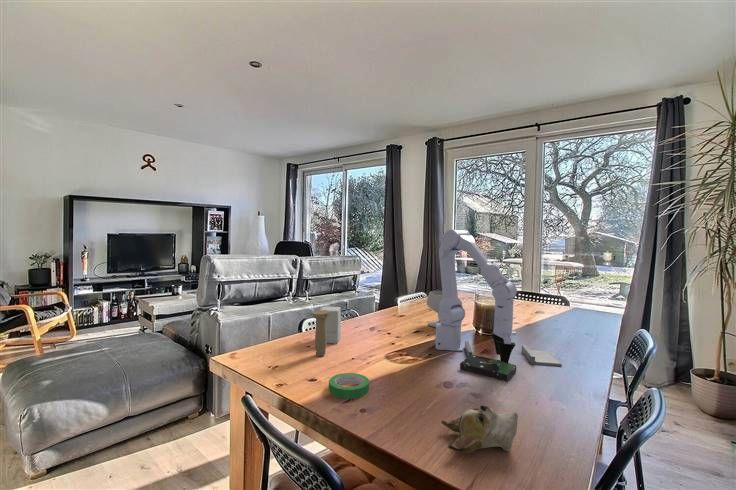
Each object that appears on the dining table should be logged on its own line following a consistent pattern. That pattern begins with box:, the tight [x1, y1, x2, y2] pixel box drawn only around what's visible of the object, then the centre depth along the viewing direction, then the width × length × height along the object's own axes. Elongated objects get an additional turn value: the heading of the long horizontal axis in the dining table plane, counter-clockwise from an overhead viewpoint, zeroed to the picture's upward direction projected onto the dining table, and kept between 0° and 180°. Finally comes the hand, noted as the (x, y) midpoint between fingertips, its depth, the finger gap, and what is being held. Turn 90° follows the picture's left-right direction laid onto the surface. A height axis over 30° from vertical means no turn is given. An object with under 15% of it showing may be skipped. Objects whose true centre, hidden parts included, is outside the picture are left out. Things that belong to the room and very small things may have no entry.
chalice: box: [426, 290, 443, 328], centre depth 164 cm, size 14×14×15 cm
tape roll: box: [328, 372, 370, 400], centre depth 98 cm, size 11×11×3 cm
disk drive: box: [459, 353, 517, 383], centre depth 113 cm, size 10×3×15 cm
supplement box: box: [320, 306, 342, 344], centre depth 139 cm, size 7×7×13 cm
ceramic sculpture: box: [440, 404, 519, 454], centre depth 74 cm, size 11×9×15 cm
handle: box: [311, 309, 330, 357], centre depth 123 cm, size 5×6×15 cm
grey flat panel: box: [464, 340, 563, 367], centre depth 126 cm, size 30×12×2 cm, turn 81°
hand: (501, 358), depth 120 cm, fingers open, 7 cm apart
